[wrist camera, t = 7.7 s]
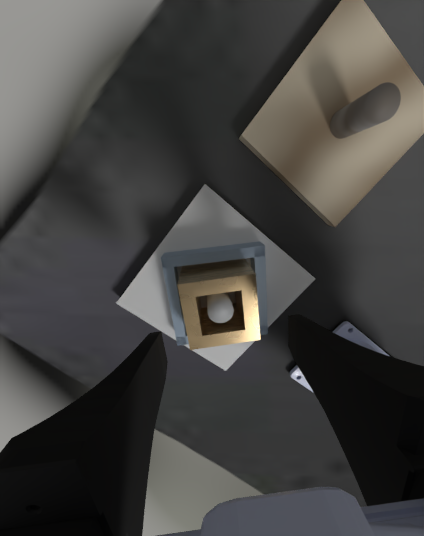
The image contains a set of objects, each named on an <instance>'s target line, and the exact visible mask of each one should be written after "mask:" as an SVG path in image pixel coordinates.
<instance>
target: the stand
mask: <svg viewBox="0 0 424 536" xmlns="http://www.w3.org/2000/svg"><path fill="white" fill-rule="evenodd" d="M423 133H424V86H423V84H422V83H421V82H420V80H419V79H418V77H417V76H416V74H415V73H414V72H413V70H412V69H411V67H410V66H409V65H408V63H407V62H406V60H405V59H404V57H403V56H402V55H401V53H400V52H399V50H398V49H397V47H396V46H395V45H394V43H393V42H392V40H391V39H390V37H389V36H388V35H387V33H386V32H385V30H384V29H383V27H382V26H381V25H380V23H379V22H378V20H377V19H376V17H375V16H374V15H373V13H372V12H371V10H370V9H369V7H368V6H367V5H366V3H365V2H364V0H341V1H340V3H339V4H338V5H337V7H336V8H335V10H334V11H333V12H332V14H331V15H330V16H329V18H328V19H327V20H326V22H325V23H324V24H323V26H322V27H321V28H320V30H319V31H318V32H317V34H316V35H315V36H314V38H313V39H312V40H311V42H310V43H309V44H308V46H307V47H306V49H305V50H304V51H303V53H302V54H301V55H300V57H299V58H298V59H297V61H296V62H295V63H294V65H293V66H292V67H291V69H290V70H289V71H288V73H287V74H286V75H285V77H284V78H283V79H282V81H281V82H280V84H279V85H278V86H277V88H276V89H275V90H274V92H273V93H272V94H271V96H270V97H269V98H268V100H267V101H266V102H265V104H264V105H263V106H262V108H261V109H260V110H259V112H258V113H257V114H256V116H255V117H254V119H253V120H252V121H251V123H250V124H249V125H248V127H247V128H246V129H245V131H244V132H243V133H242V135H241V136H240V138H239V140H240V141H241V142H243V143H244V144H245V145H246V146H247V147H248V148H249V149H250V150H251V151H252V152H253V153H254V154H255V155H256V156H257V157H258V158H259V159H260V160H261V161H262V162H263V163H264V164H265V165H266V166H267V167H268V168H269V169H270V170H272V171H273V172H274V173H275V174H276V175H277V176H278V177H279V178H280V179H281V180H282V181H283V182H284V183H285V184H286V185H287V186H288V187H289V188H290V189H291V190H292V191H293V192H294V193H295V194H296V195H297V196H298V197H299V198H301V199H302V200H303V201H304V202H305V203H306V204H307V205H308V206H309V207H310V208H311V209H312V210H313V211H314V212H315V213H316V214H317V215H318V216H319V217H320V218H321V219H322V220H323V221H324V222H325V223H326V224H327V225H329V226H334V227H336V226H337V225H338V224H339V223H340V222H341V221H342V219H343V218H344V217H345V216H346V215H347V214H348V213H349V212H350V211H351V210H352V209H353V208H354V207H355V206H356V205H357V204H358V202H359V201H360V200H361V199H362V198H363V197H364V196H365V195H366V194H367V193H368V192H369V191H370V190H371V189H372V188H373V187H374V185H375V184H376V183H377V182H378V181H379V180H380V179H381V178H382V177H383V176H384V175H385V174H386V173H387V172H388V171H389V170H390V168H391V167H392V166H393V165H394V164H395V163H396V162H397V161H398V160H399V159H400V158H401V157H402V156H403V155H404V154H405V153H406V151H407V150H408V149H409V148H410V147H411V146H412V145H413V144H414V143H415V142H416V141H417V140H418V139H419V138H420V137H421V135H422V134H423Z"/></svg>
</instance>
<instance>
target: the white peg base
mask: <svg viewBox="0 0 424 536" xmlns="http://www.w3.org/2000/svg"><path fill="white" fill-rule="evenodd" d="M236 259H245V260H246V261H247V262H248V264H249V265H250V266H251V268H252V269H253V270H254V272H255V273H256V283H257V297H258V312H259V326H260V335H265V334H268V327H269V326H270V325H271V324H272V323H273V322H274V321H275V320H276V319H277V318H278V317H279V316H280V315H281V314H282V313H283V312H284V311H285V310H286V309H287V308H288V307H289V306H290V305H291V304H292V302H293V301H294V300H295V299H296V298H297V297H298V296H299V295H300V294H301V293H302V292H303V291H304V290H305V289H306V288H307V287H308V286H309V285H310V284H311V283H312V282H313V281H314V280H315V278H314V277H313V276H312V275H311V274H309V273H308V272H307V271H306V270H305V269H304V268H302V267H301V266H300V265H299V264H298V263H297V262H295V261H294V260H293V259H292V258H291V257H290V256H288V255H287V254H286V253H285V252H284V251H283V250H282V249H280V248H279V247H278V246H277V245H276V244H275V243H273V242H272V241H271V240H270V239H269V238H268V237H266V236H265V235H264V234H263V233H262V232H261V231H259V230H258V229H257V228H256V227H255V226H254V225H252V224H251V223H250V222H249V221H248V220H247V219H245V218H244V217H243V216H242V215H241V214H240V213H238V212H237V211H236V210H235V209H234V208H233V207H231V206H230V205H229V204H228V203H227V202H226V201H224V200H223V199H222V198H221V197H220V196H219V195H217V194H216V193H215V192H214V191H213V190H212V189H210V188H209V187H208V186H207V185H206V184H204V186H203V187H202V188H201V190H200V191H199V193H198V194H197V195H196V197H195V198H194V199H193V201H192V202H191V203H190V205H189V206H188V207H187V209H186V210H185V211H184V213H183V214H182V215H181V217H180V218H179V219H178V221H177V222H176V223H175V225H174V226H173V228H172V229H171V230H170V232H169V233H168V234H167V236H166V237H165V238H164V240H163V241H162V242H161V244H160V245H159V246H158V248H157V249H156V250H155V252H154V253H153V254H152V256H151V257H150V258H149V260H148V261H147V263H146V264H145V265H144V267H143V268H142V269H141V271H140V272H139V273H138V275H137V276H136V277H135V279H134V280H133V281H132V283H131V284H130V285H129V287H128V288H127V289H126V291H125V292H124V293H123V295H122V296H121V297H120V299H119V300H118V302H117V303H116V304H118V305H120V306H121V307H123V308H125V309H126V310H128V311H129V312H131V313H133V314H134V315H136V316H138V317H139V318H141V319H142V320H144V321H146V322H147V323H149V324H150V325H152V326H154V327H155V328H157V329H159V330H160V331H162V332H163V333H165V334H167V335H168V336H170V337H172V338H173V339H175V340H176V341H177V346H179V345H185V346H186V347H188V348H189V349H190V347H189V342H188V337H187V332H186V327H185V322H184V317H183V311H182V306H181V301H180V296H179V291H178V286H177V284H178V280H179V276H180V272H181V268H182V266H186V265H195V264H203V263H211V262H220V261H228V260H236ZM200 301H201V307H202V308H204V307H207V309H208V316H209V318H210V319H211V320H212V321H214V322H216V323H224V322H227V321H228V320H230V319H231V318H232V316H233V313H234V309H233V306H232V303H236V299H235V291H233V292H226V293H219V294H212V295H205V296H200ZM253 342H254V341H249V342H242V343H235V344H229V345H222V346H215V347H208V348H201V349H194V350H193V351H194V352H196V353H198V354H199V355H201V356H202V357H204V358H206V359H207V360H209V361H211V362H212V363H214V364H215V365H217V366H219V367H220V368H222V369H224V370H225V371H226V370H227V369H228V368H229V367H230V366H231V365H232V364H233V363H234V362H235V361H236V360H237V359H238V358H239V357H240V356H241V355H242V354H243V353H244V352H245V351H246V350H247V349H248V347H249V346H250V345H251V344H252V343H253Z"/></svg>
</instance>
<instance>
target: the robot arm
mask: <svg viewBox="0 0 424 536" xmlns="http://www.w3.org/2000/svg"><path fill="white" fill-rule="evenodd" d="M349 329H350V330H349ZM288 346H289V349H290V351H291V353H292V356H293V358H294V360H295V362H296V364H297V365H296V366H295V367H294V368H293V369H292V370H291V371H290V373H289V374H290V376H291V378H292V379H294V380H295V381H297V382H298V383H300V384H301V385H303V386H304V387H306V388H307V389H309V390H310V391H312V392H313V393H314V394H315V395H316V397H317V399H318V400H319V402H320V404H321V406H322V407H323V409H324V411H325V413H326V415H327V417H328V419H329V421H330V423H331V425H332V427H333V429H334V432H335V434H336V436H337V438H338V440H339V442H340V444H341V447H342V449H343V451H344V453H345V455H346V458H347V460H348V462H349V464H350V467H351V469H352V471H353V473H354V476H355V478H356V480H357V482H358V485H359V487H360V490H361V492H362V494H363V497H364V499H365V502H366V504H367V506H365V507H360V506H359V504H358V502H357V500H356V498H355V497H354V496H352V495H350V494H349V493H347V492H345V491H343V490H341V489H339V488H338V487H316V488H309V489H302V490H294V491H287V492H280V493H273V494H265V495H258V496H251V497H243V498H236V499H233V500H229V501H226V502H223V503H220V504H218V505H217V506H215V507H214V508H213V509H212V510H210V511H209V512H208V513H207V514H206V515H205V517H204V518H203V522H202V527H201V529H200V530H193V531H186V532H179V533H172V534H165V535H157V536H424V366H420V365H416V364H413V363H409V362H406V361H402V360H399V359H396V358H393V357H390V356H389V355H388V354H387V353H385V352H384V351H383V350H382V349H381V348H379V347H378V346H377V345H376V344H375V343H373V342H372V341H371V340H370V339H369V338H367V337H366V336H365V335H364V334H363V333H361V332H360V331H359V330H358V329H357V328H355V327H354V326H353V325H352V324H351V323H349V322H348V321H345V322H343V323H341V324H340V325H339V326H338V327H337V328H336V329H335V330H334V331H333V332H331V331H329V330H327V329H325V328H324V327H322V326H320V325H318V324H316V323H315V322H313V321H311V320H309V319H307V318H305V317H304V316H302V315H299V314H298V315H290V316H288ZM166 371H167V357H166V352H165V348H164V343H163V338H162V334H161V332H153V333H150V334H149V335H148V336H147V337H146V338H145V339H144V340H143V341H142V342H141V343H140V344H139V346H138V347H137V348H136V349H135V350H134V351H133V352H132V353H131V354H130V355H129V356H128V357H127V358H126V359H125V360H124V361H123V362H122V363H121V364H120V365H119V366H118V367H117V368H116V369H115V370H114V371H113V372H112V373H111V374H109V375H108V376H107V377H106V378H105V379H104V380H102V381H101V382H100V383H99V384H97V385H96V386H95V387H94V388H92V389H91V390H90V391H88V392H87V393H85V394H84V395H83V396H81V397H80V398H79V399H77V400H76V401H74V402H73V403H71V404H70V405H68V406H67V407H65V408H64V409H62V410H61V411H59V412H57V413H56V414H54V415H53V416H51V417H50V418H48V419H46V420H44V421H42V422H41V423H39V424H37V425H35V426H33V427H32V428H30V429H28V430H26V431H25V432H23V433H21V434H19V435H17V436H15V437H13V438H11V440H10V441H9V442H8V444H7V445H6V446H5V448H4V449H3V450H2V451H1V452H0V536H142V529H143V519H144V509H145V499H146V490H147V479H148V472H149V464H150V456H151V448H152V440H153V434H154V428H155V423H156V419H157V414H158V410H159V406H160V401H161V397H162V393H163V388H164V384H165V379H166ZM297 376H298V377H297Z"/></svg>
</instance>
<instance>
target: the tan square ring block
mask: <svg viewBox="0 0 424 536" xmlns="http://www.w3.org/2000/svg"><path fill="white" fill-rule="evenodd" d="M177 286H178V291H179V296H180V301H181V306H182V311H183V317H184V322H185V327H186V332H187V337H188V342H189V347H190V350H194V349H201V348H208V347H215V346H222V345H229V344H235V343H242V342H249V341H256V340H260V326H259V312H258V297H257V283H256V273H255V272H254V270H253V269H252V268H251V266H250V265H249V264H248V262H247V261H246V260H245V259H236V260H228V261H220V262H211V263H203V264H195V265H186V266H182V268H181V272H180V276H179V280H178V284H177ZM233 291H235V299H236V303H232V306H233V309H234V313H233V316H232V318H231V319H230V320H228V321H227V322H224V323H216V322H214V321H212V320H211V319H210V318H209V316H208V309H207V307H204V308H202V307H201V301H200V296H205V295H212V294H219V293H226V292H233Z"/></svg>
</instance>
